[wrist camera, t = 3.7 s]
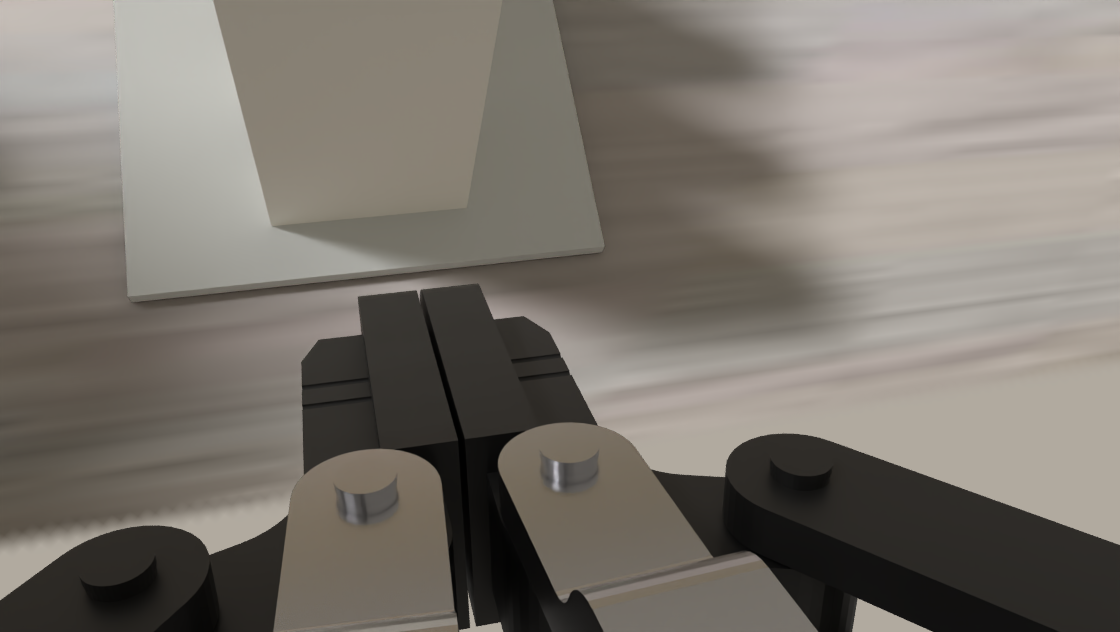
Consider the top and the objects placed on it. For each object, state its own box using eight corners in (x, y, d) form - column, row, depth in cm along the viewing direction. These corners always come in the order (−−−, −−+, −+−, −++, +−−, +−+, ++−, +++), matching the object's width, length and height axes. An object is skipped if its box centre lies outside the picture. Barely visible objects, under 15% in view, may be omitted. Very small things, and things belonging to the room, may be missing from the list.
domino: (271, 226, 25) (203, -36, 16) (264, 156, 26) (195, -135, 16) (466, 207, 26) (510, -48, 17) (455, 141, 27) (492, -142, 17)
